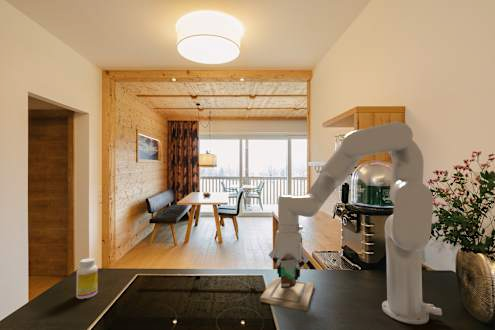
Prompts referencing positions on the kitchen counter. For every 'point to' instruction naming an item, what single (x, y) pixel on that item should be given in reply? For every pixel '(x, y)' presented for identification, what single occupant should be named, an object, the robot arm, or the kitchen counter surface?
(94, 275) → the supplement bottle
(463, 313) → the kitchen counter surface
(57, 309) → the kitchen counter surface
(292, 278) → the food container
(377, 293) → the kitchen counter surface
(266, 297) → the base board
